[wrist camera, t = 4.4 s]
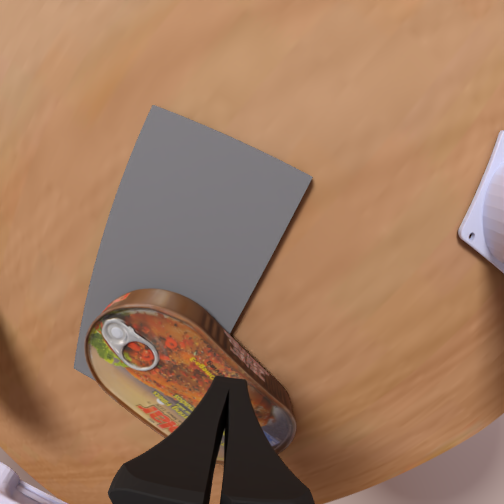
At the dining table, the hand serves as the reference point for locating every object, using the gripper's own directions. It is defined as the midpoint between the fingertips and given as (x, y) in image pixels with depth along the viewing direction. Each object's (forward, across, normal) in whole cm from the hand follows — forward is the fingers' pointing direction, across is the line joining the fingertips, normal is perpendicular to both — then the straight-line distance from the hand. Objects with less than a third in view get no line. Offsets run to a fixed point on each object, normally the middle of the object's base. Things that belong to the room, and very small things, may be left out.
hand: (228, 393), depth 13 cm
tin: (+4, -1, +1) cm, 5 cm away
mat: (+6, +5, -2) cm, 8 cm away
